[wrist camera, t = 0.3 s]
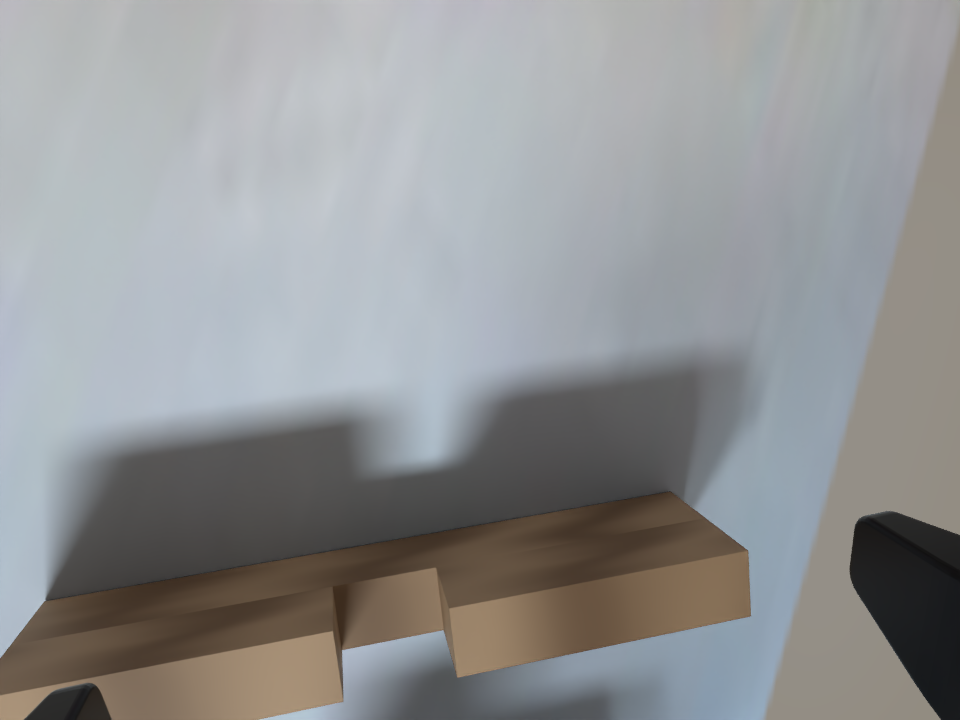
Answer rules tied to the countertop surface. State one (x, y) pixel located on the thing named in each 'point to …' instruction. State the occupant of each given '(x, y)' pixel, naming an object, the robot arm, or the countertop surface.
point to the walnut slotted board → (382, 611)
